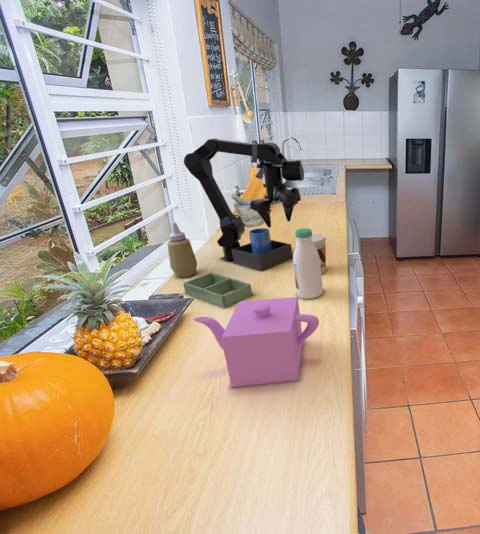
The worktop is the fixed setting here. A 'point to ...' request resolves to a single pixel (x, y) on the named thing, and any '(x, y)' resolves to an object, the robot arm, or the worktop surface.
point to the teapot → (263, 340)
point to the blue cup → (260, 241)
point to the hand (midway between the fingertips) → (279, 224)
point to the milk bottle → (307, 266)
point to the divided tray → (218, 289)
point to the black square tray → (262, 256)
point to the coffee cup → (320, 249)
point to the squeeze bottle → (181, 253)
